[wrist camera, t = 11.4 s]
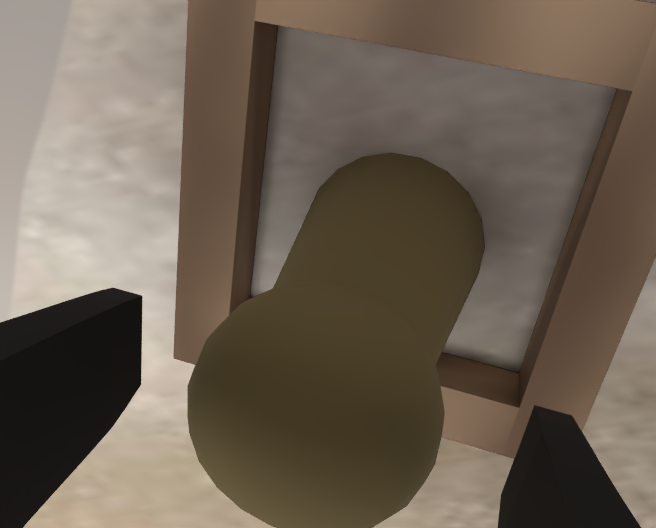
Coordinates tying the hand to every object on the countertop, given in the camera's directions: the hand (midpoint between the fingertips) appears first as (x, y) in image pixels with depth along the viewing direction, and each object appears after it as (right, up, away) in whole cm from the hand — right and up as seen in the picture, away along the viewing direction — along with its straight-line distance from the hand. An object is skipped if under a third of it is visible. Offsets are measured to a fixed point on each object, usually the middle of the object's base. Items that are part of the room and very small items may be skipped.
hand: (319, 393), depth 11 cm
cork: (+2, +3, +10) cm, 11 cm away
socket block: (+3, +4, +9) cm, 10 cm away
